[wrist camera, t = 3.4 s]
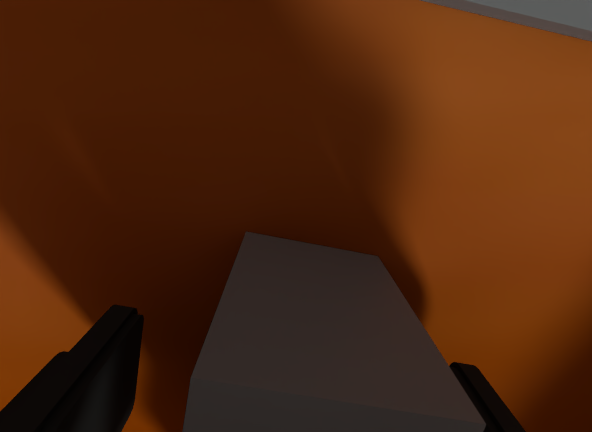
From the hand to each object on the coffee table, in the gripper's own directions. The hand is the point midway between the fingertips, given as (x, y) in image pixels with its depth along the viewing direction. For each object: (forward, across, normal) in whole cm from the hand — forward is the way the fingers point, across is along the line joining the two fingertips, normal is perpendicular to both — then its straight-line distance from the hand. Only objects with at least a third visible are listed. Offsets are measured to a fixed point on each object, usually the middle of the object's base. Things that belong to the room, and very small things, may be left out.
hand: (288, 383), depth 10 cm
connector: (+2, 0, +1) cm, 2 cm away
